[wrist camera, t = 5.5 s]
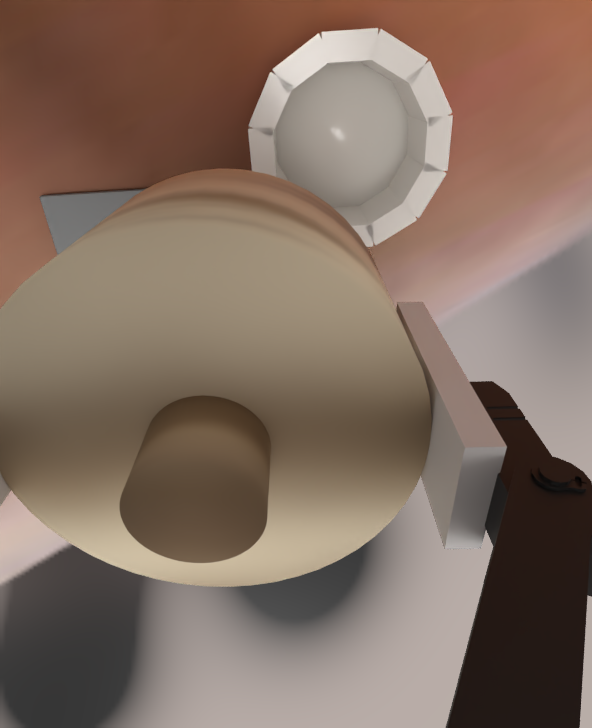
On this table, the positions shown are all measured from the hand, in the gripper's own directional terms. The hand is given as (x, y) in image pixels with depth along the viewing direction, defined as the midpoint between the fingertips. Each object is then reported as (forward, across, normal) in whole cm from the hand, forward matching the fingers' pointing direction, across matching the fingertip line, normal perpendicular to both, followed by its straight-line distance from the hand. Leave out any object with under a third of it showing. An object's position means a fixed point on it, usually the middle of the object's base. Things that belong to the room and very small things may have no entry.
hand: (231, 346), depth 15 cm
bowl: (+16, +5, +4) cm, 17 cm away
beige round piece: (+1, 0, 0) cm, 1 cm away
